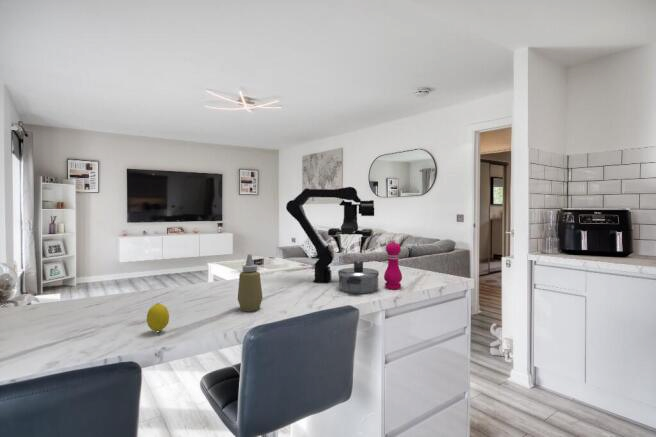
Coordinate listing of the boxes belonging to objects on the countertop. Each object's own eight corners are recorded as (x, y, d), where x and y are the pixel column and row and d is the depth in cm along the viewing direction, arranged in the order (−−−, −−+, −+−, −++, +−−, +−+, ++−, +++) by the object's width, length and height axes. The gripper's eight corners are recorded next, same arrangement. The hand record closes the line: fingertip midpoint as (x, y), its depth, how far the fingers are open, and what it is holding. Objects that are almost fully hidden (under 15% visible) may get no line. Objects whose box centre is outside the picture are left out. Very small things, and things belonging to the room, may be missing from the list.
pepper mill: (401, 286, 155) (401, 237, 154) (402, 290, 148) (403, 239, 147) (383, 285, 156) (383, 237, 155) (384, 289, 149) (384, 239, 148)
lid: (333, 279, 144) (333, 263, 143) (343, 272, 159) (343, 257, 159) (375, 282, 139) (375, 265, 139) (381, 274, 155) (381, 259, 154)
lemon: (151, 329, 104) (151, 300, 104) (172, 328, 105) (171, 300, 104) (143, 336, 99) (142, 306, 98) (165, 335, 99) (164, 305, 99)
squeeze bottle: (267, 306, 125) (266, 253, 124) (254, 313, 118) (254, 257, 117) (246, 304, 128) (245, 252, 127) (232, 311, 120) (231, 255, 119)
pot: (333, 294, 142) (333, 278, 141) (346, 282, 162) (346, 268, 161) (373, 297, 137) (373, 281, 137) (380, 284, 158) (381, 270, 157)
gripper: (324, 216, 156) (324, 254, 157) (368, 217, 151) (368, 255, 152) (331, 215, 167) (331, 250, 168) (373, 216, 162) (372, 251, 162)
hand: (350, 252), depth 162 cm, fingers open, 9 cm apart
